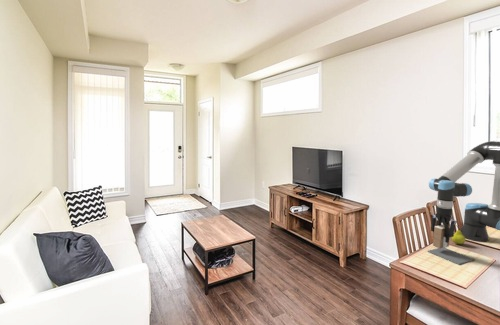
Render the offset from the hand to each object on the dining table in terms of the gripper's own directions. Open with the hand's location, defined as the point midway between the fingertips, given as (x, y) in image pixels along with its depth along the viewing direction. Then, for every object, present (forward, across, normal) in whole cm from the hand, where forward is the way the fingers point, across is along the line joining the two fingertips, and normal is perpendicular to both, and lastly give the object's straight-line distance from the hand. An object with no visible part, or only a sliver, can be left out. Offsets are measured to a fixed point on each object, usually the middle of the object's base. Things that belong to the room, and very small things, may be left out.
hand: (440, 245), depth 160 cm
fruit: (+4, -3, +22) cm, 23 cm away
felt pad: (+4, +6, 0) cm, 7 cm away
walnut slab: (0, 0, 0) cm, 0 cm away
